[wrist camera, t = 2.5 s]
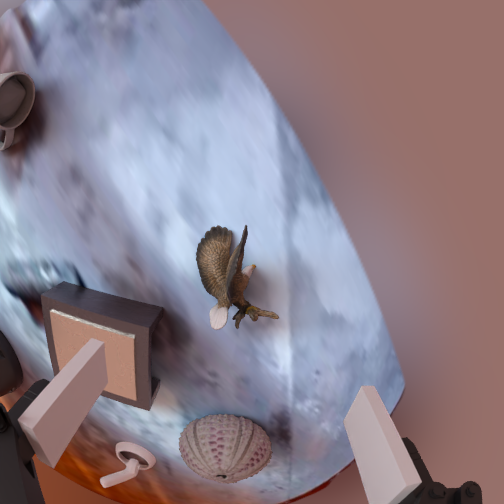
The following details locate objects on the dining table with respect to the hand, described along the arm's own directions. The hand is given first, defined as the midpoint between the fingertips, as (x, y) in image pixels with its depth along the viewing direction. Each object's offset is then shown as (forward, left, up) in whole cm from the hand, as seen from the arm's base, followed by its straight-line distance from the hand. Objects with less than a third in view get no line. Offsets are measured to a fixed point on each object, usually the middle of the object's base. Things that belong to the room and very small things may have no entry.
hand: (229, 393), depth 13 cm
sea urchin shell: (-25, -2, -18) cm, 31 cm away
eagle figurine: (+1, +1, -18) cm, 18 cm away
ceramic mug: (+16, +35, -18) cm, 43 cm away
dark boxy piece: (-11, +15, -18) cm, 26 cm away
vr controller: (-37, +13, -18) cm, 43 cm away
